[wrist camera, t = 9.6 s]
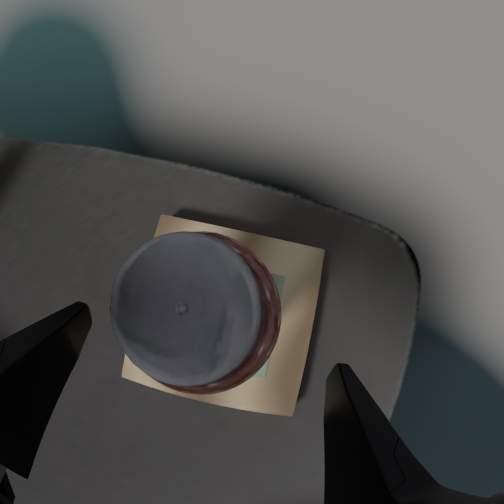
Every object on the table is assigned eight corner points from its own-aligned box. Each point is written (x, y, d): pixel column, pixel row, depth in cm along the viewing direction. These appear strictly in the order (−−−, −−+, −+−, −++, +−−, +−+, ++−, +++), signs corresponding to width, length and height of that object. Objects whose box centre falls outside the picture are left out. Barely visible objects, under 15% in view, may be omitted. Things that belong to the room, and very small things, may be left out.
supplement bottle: (256, 269, 18) (292, 188, 7) (264, 359, 17) (316, 412, 6) (167, 275, 18) (85, 205, 7) (173, 364, 16) (91, 416, 5)
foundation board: (318, 255, 20) (325, 249, 19) (288, 410, 17) (292, 416, 16) (165, 221, 20) (160, 213, 19) (129, 373, 17) (120, 376, 16)
